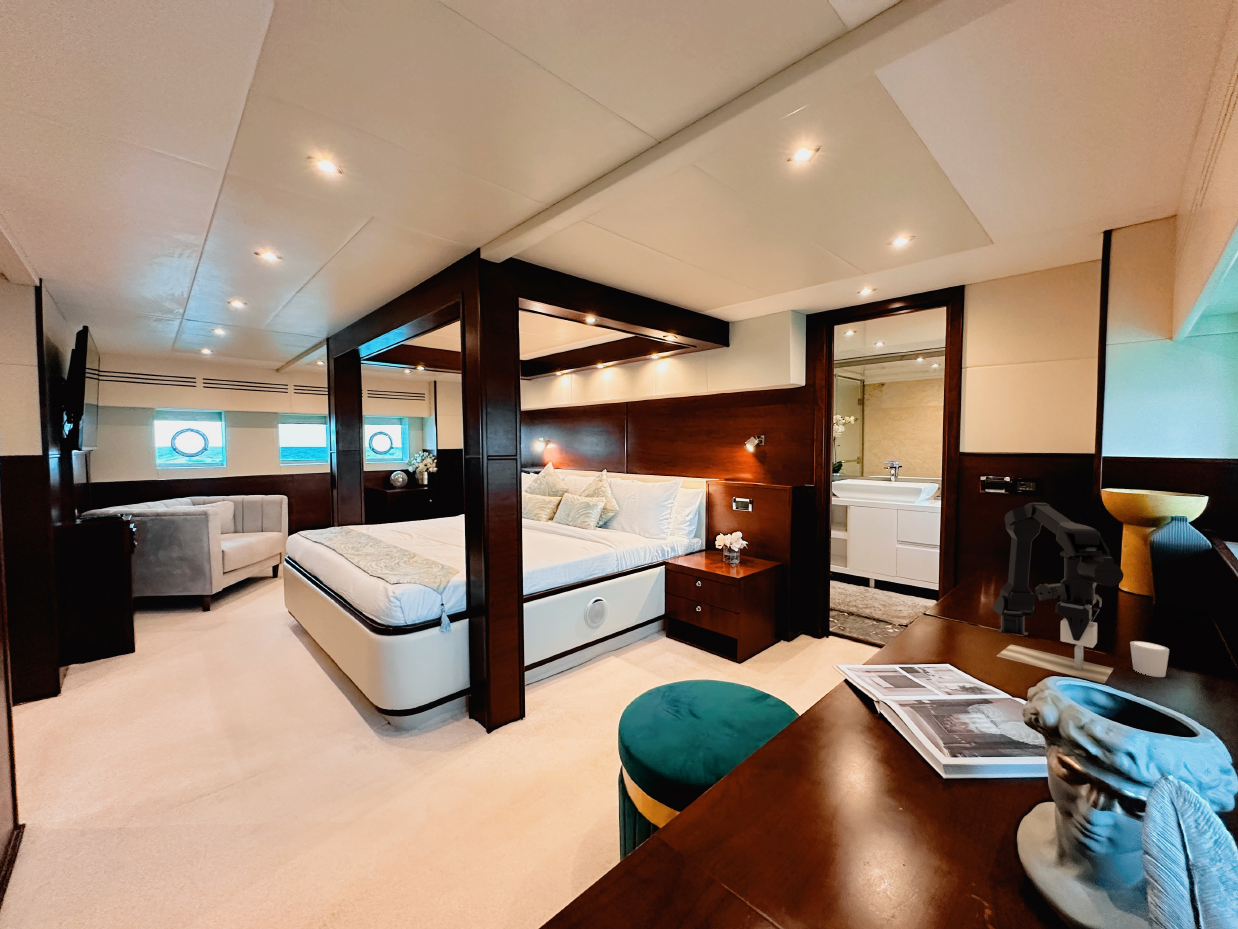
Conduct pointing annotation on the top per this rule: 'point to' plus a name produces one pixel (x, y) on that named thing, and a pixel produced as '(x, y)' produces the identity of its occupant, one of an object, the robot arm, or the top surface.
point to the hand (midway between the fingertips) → (1078, 637)
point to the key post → (1078, 657)
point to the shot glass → (1149, 658)
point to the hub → (1087, 638)
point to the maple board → (1056, 663)
